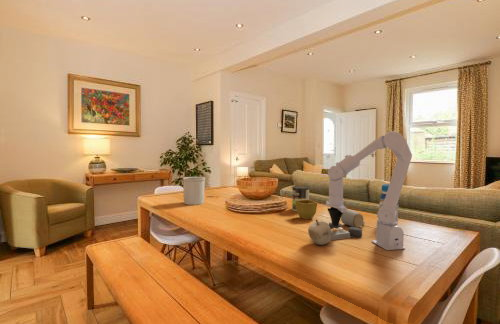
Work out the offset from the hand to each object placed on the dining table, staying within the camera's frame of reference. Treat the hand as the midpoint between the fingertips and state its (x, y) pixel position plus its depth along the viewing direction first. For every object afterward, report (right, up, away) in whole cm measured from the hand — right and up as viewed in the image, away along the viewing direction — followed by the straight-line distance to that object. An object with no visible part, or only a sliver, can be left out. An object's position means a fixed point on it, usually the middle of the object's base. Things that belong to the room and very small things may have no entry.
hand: (335, 225), depth 116 cm
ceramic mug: (+14, -4, +16) cm, 22 cm away
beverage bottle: (+31, -4, +16) cm, 35 cm away
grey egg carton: (0, -5, 0) cm, 5 cm away
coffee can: (-6, -2, +50) cm, 50 cm away
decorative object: (-9, -6, -9) cm, 14 cm away
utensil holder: (-75, -1, +71) cm, 103 cm away
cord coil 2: (+9, -5, +1) cm, 10 cm away
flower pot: (-6, -3, +31) cm, 31 cm away
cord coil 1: (+3, -4, +9) cm, 10 cm away
